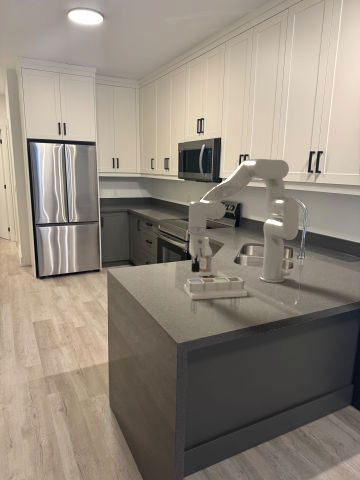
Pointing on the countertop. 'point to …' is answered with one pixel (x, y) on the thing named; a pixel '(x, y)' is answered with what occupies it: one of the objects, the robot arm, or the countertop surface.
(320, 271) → the countertop surface
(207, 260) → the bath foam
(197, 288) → the white compartment tray
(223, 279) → the key
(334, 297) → the countertop surface
